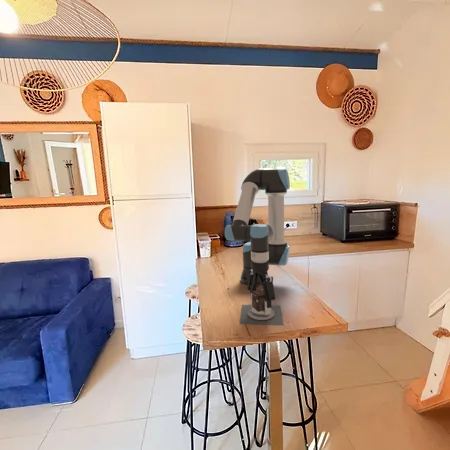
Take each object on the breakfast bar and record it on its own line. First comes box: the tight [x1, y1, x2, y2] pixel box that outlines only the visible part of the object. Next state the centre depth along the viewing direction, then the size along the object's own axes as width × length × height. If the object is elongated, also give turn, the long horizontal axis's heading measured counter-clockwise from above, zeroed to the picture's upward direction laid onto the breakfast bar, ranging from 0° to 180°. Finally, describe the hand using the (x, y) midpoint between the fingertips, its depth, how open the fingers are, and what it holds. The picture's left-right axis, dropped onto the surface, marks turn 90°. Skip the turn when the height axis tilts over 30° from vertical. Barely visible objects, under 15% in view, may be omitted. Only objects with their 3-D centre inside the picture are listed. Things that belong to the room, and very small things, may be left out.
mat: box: [239, 304, 285, 326], centre depth 122 cm, size 18×18×1 cm
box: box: [252, 288, 269, 312], centre depth 121 cm, size 6×6×7 cm
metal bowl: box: [247, 307, 275, 321], centre depth 122 cm, size 12×12×3 cm
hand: (260, 310), depth 121 cm, fingers open, 8 cm apart
